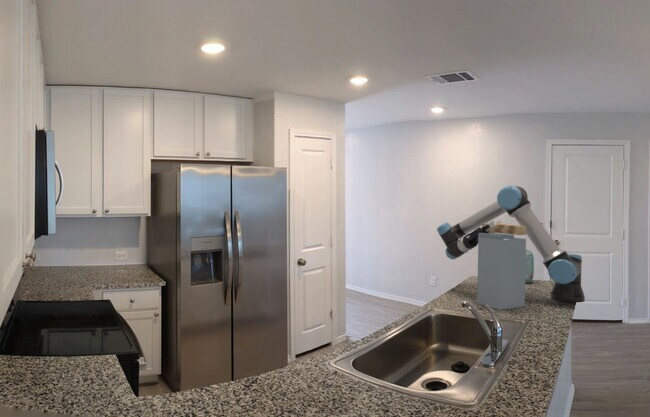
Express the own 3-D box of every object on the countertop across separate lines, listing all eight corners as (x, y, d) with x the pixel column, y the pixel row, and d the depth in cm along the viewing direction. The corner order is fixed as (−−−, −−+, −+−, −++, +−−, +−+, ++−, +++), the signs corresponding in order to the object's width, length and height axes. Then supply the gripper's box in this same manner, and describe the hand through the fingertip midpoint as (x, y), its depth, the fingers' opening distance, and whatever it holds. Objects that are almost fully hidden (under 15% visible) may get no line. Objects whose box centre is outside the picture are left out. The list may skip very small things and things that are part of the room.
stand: (477, 303, 226) (478, 233, 225) (501, 300, 233) (502, 232, 232) (499, 310, 214) (501, 235, 213) (524, 306, 221) (526, 234, 220)
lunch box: (485, 281, 285) (486, 245, 284) (486, 278, 294) (487, 244, 293) (533, 284, 274) (534, 248, 273) (533, 281, 284) (534, 246, 283)
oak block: (482, 231, 236) (482, 223, 236) (488, 231, 238) (488, 223, 238) (519, 235, 215) (519, 226, 215) (525, 234, 217) (526, 226, 217)
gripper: (482, 248, 250) (513, 229, 232) (457, 250, 242) (487, 230, 224) (477, 235, 253) (507, 215, 235) (453, 236, 246) (482, 216, 227)
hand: (498, 222), depth 229 cm, fingers closed on oak block, 4 cm apart
